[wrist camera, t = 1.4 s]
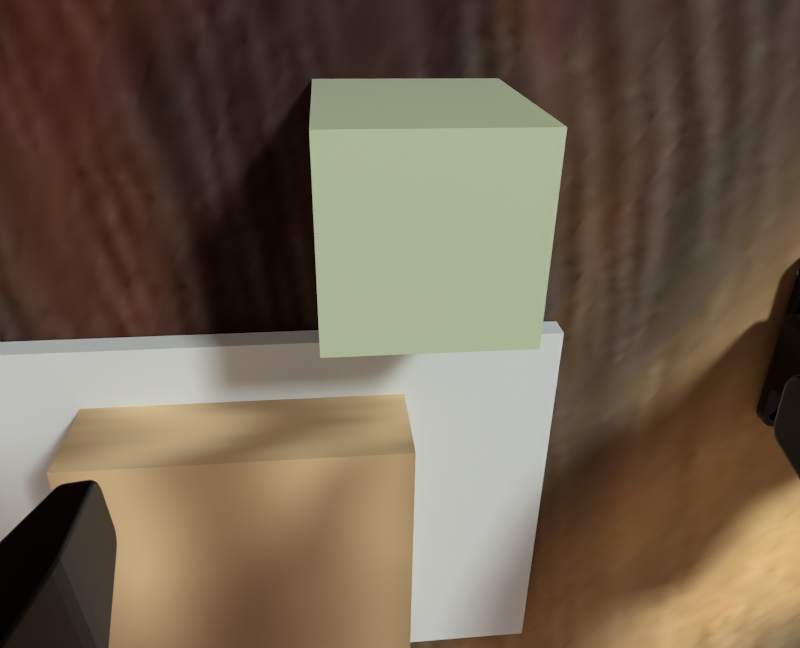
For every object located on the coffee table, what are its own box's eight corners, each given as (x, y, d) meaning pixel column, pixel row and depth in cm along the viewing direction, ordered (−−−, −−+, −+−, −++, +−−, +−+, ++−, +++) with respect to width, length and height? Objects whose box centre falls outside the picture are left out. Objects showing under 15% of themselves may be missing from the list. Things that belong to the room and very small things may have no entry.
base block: (404, 393, 22) (415, 452, 20) (400, 608, 27) (409, 679, 24) (80, 408, 21) (46, 473, 19) (134, 628, 26) (113, 705, 23)
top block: (497, 78, 19) (566, 127, 14) (485, 250, 21) (539, 348, 16) (312, 78, 18) (309, 129, 13) (320, 254, 21) (319, 357, 15)
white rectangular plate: (556, 321, 23) (563, 332, 22) (516, 616, 29) (521, 633, 28) (-101, 345, 21) (-116, 359, 20) (16, 656, 27) (8, 674, 27)
